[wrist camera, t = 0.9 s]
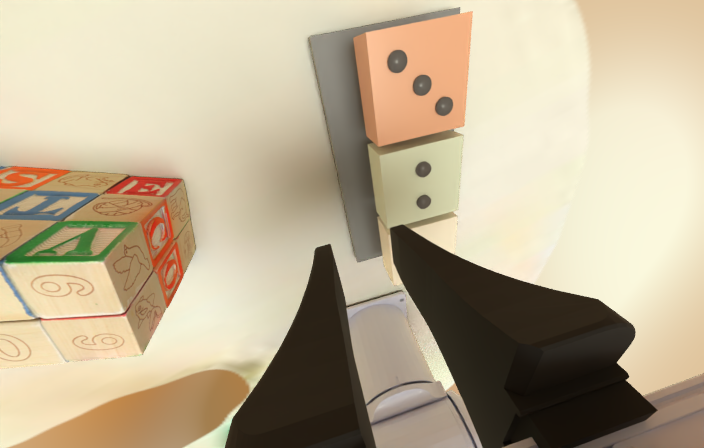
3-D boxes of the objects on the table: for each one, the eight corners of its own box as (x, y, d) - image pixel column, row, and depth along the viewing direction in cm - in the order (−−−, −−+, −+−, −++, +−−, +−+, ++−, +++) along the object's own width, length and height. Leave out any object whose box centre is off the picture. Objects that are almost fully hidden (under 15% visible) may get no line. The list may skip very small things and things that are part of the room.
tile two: (439, 194, 19) (459, 211, 17) (376, 211, 19) (388, 230, 17) (441, 126, 17) (465, 135, 14) (367, 144, 16) (380, 156, 14)
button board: (442, 231, 25) (460, 249, 23) (355, 255, 24) (362, 277, 22) (451, 10, 16) (481, 0, 13) (308, 38, 15) (312, 32, 12)
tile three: (441, 118, 16) (466, 127, 14) (366, 136, 16) (379, 147, 14) (443, 19, 13) (475, 10, 11) (353, 37, 13) (367, 31, 11)
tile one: (438, 249, 22) (455, 270, 20) (383, 265, 22) (395, 288, 20) (439, 200, 20) (459, 217, 17) (377, 216, 19) (389, 236, 17)
